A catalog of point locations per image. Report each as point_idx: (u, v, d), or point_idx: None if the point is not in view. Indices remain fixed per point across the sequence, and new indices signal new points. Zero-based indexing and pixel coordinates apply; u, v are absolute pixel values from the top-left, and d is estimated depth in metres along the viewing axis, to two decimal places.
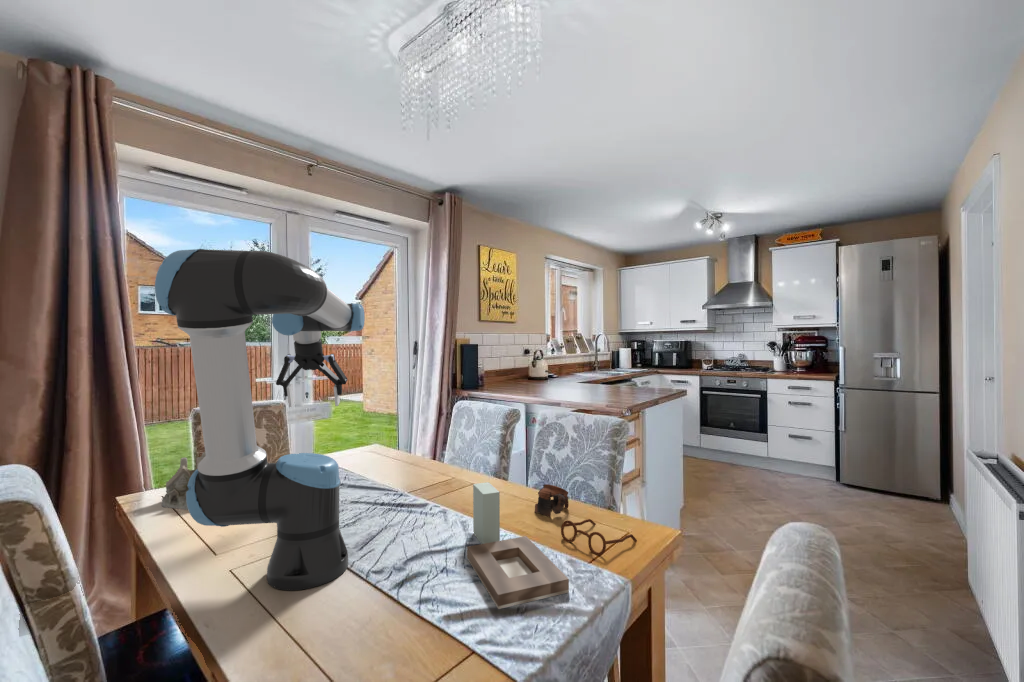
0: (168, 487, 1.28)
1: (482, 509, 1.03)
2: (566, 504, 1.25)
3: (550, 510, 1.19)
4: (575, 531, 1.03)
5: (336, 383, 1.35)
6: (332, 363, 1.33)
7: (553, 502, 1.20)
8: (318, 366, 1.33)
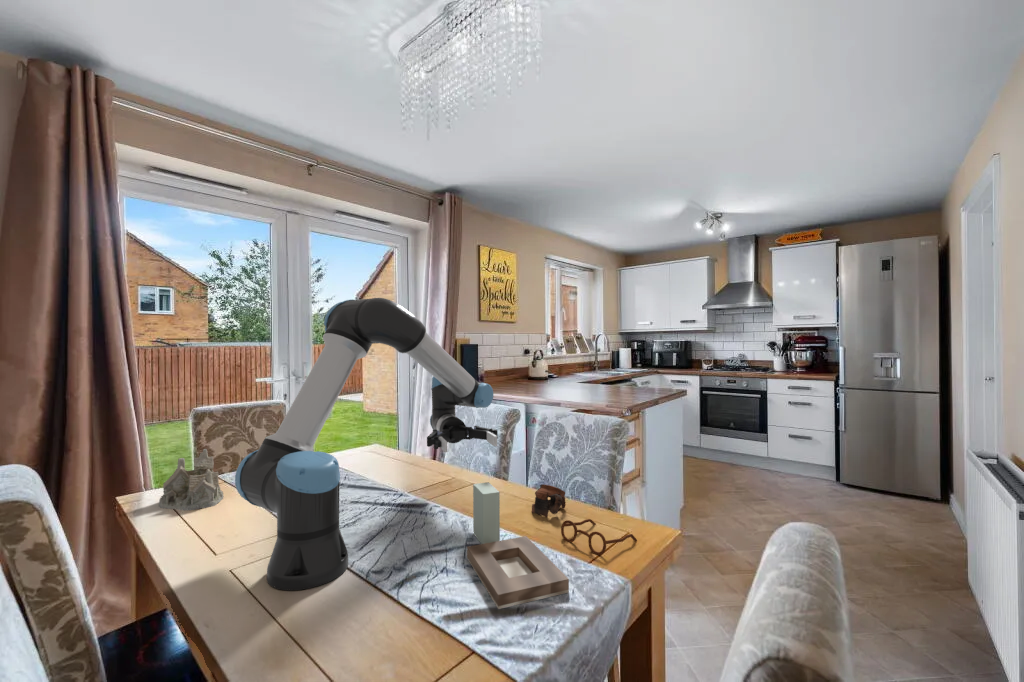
0: (165, 488, 1.28)
1: (482, 509, 1.03)
2: (563, 504, 1.25)
3: (547, 510, 1.19)
4: (575, 531, 1.03)
5: (488, 431, 1.26)
6: (479, 427, 1.31)
7: (550, 502, 1.20)
8: (467, 427, 1.29)
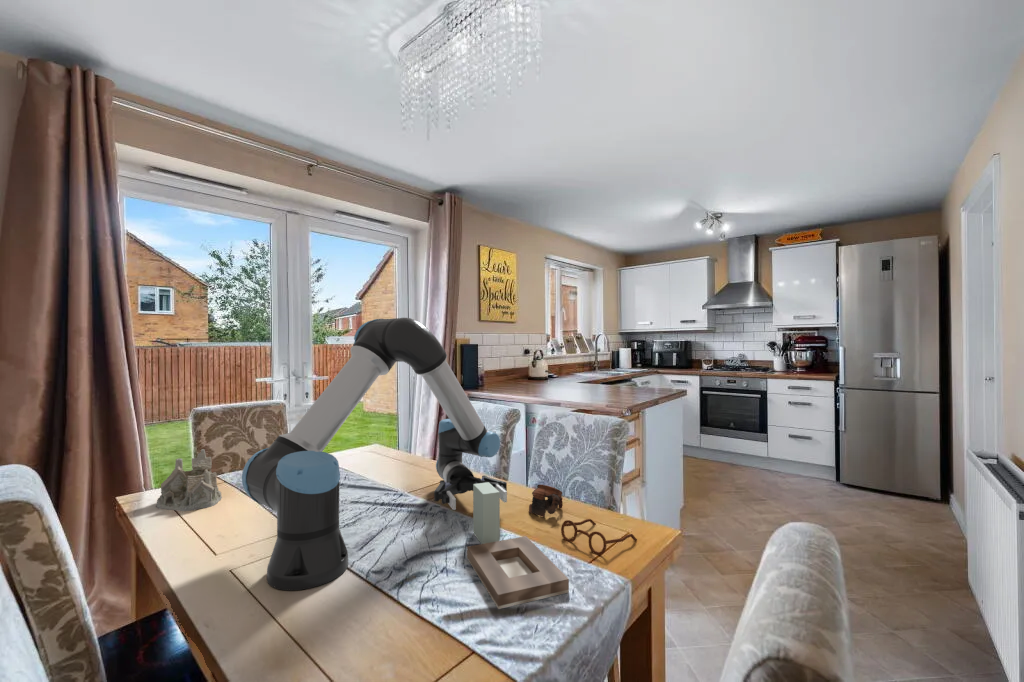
0: (163, 488, 1.27)
1: (482, 509, 1.03)
2: (560, 504, 1.25)
3: (544, 510, 1.19)
4: (575, 531, 1.03)
5: (497, 483, 1.22)
6: (487, 477, 1.28)
7: (547, 502, 1.20)
8: (475, 478, 1.26)
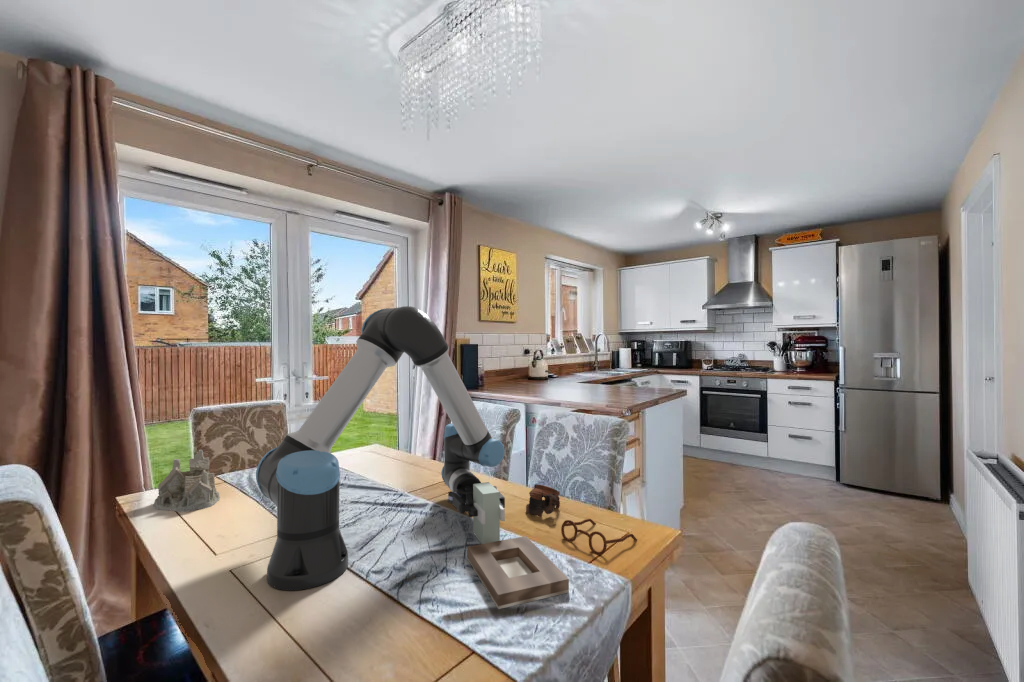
0: (161, 489, 1.27)
1: None
2: (557, 504, 1.25)
3: (541, 510, 1.19)
4: (575, 531, 1.03)
5: None
6: None
7: (544, 502, 1.20)
8: None
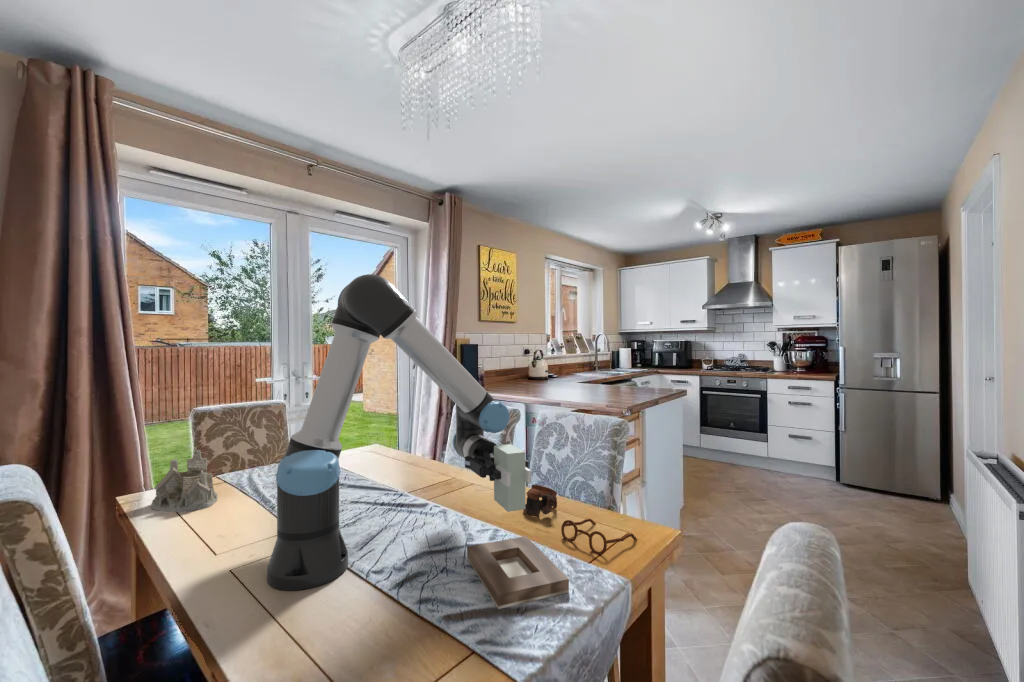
0: (158, 490, 1.26)
1: None
2: (554, 504, 1.25)
3: (539, 510, 1.19)
4: (576, 531, 1.03)
5: None
6: None
7: (542, 502, 1.20)
8: None
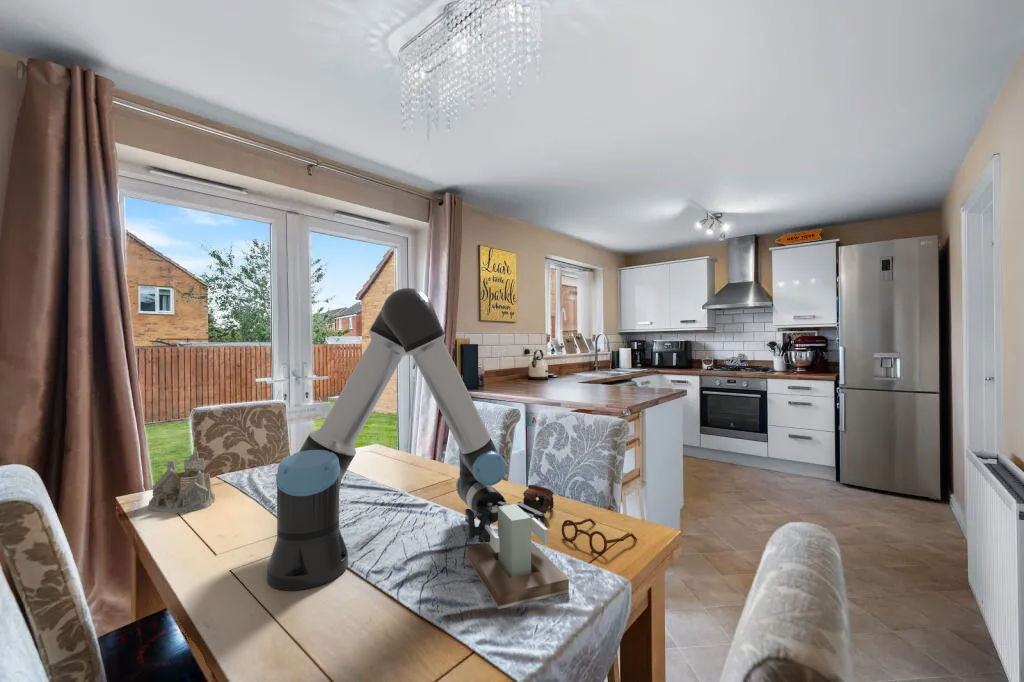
0: (155, 490, 1.26)
1: (510, 538, 0.86)
2: (551, 504, 1.25)
3: None
4: (576, 530, 1.03)
5: (533, 515, 0.95)
6: (523, 505, 1.01)
7: (538, 503, 1.19)
8: None
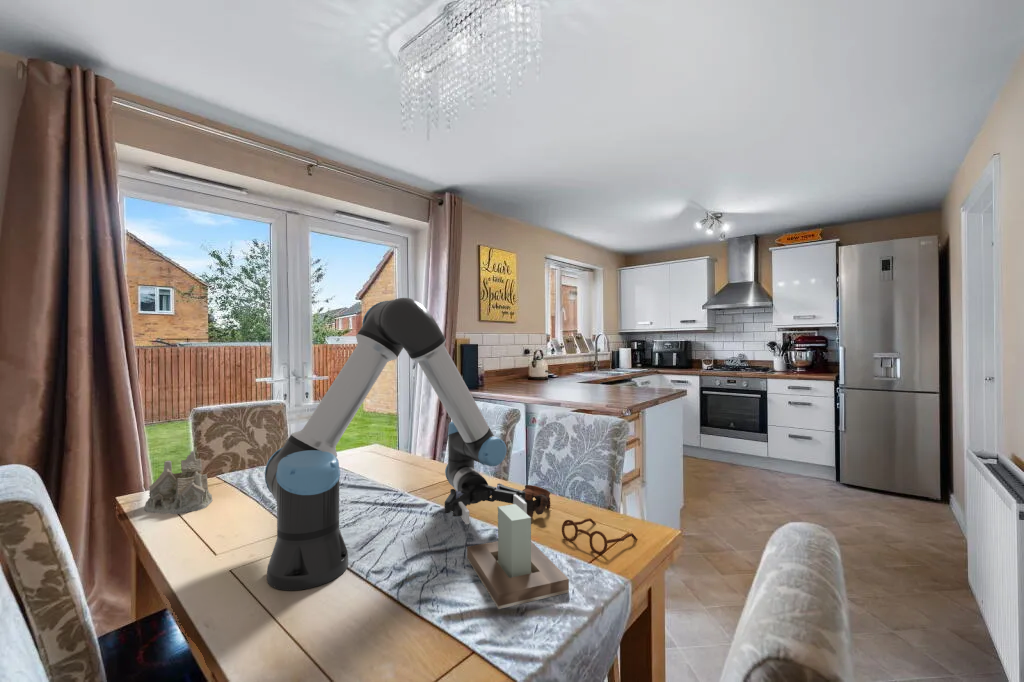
0: (152, 491, 1.25)
1: (510, 538, 0.86)
2: (548, 504, 1.25)
3: (532, 511, 1.19)
4: (576, 530, 1.04)
5: (515, 493, 1.08)
6: (503, 486, 1.14)
7: (535, 503, 1.19)
8: (489, 486, 1.12)
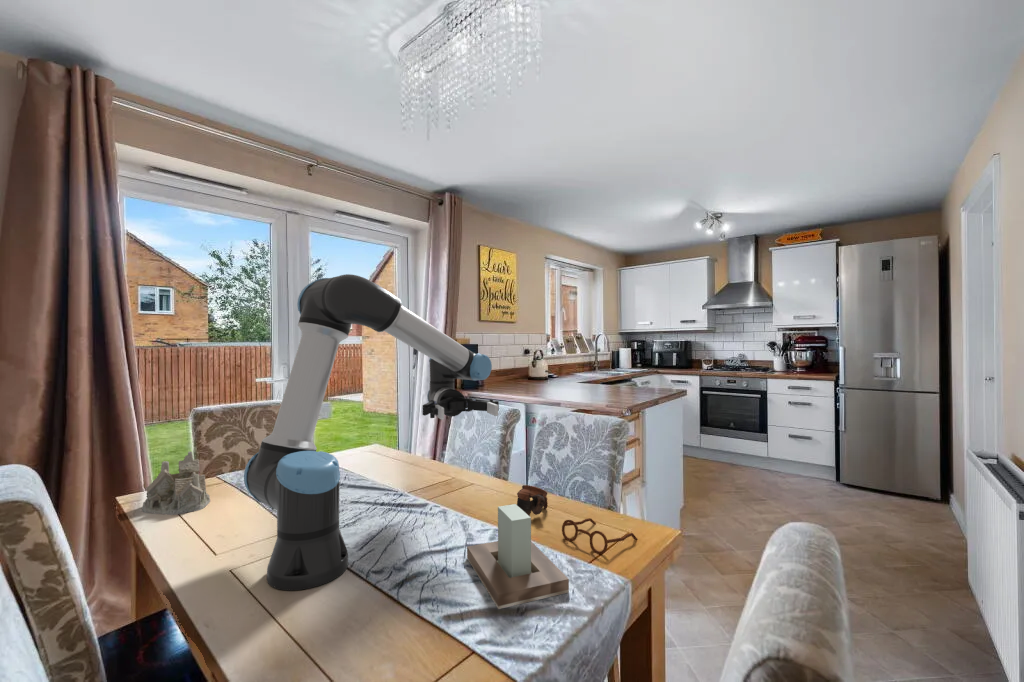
0: (149, 492, 1.24)
1: (510, 538, 0.86)
2: (545, 504, 1.25)
3: (529, 511, 1.19)
4: (576, 530, 1.04)
5: (489, 401, 1.17)
6: (479, 399, 1.23)
7: (532, 503, 1.19)
8: (466, 398, 1.21)
